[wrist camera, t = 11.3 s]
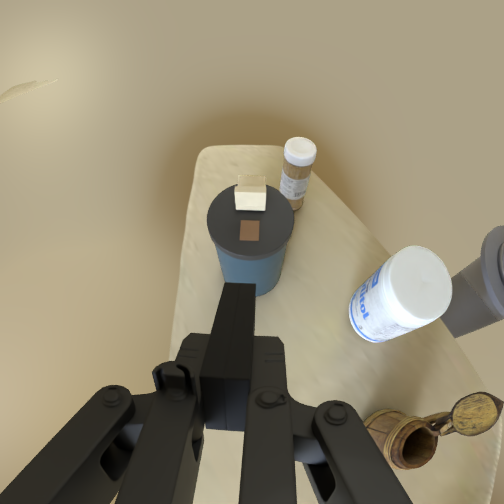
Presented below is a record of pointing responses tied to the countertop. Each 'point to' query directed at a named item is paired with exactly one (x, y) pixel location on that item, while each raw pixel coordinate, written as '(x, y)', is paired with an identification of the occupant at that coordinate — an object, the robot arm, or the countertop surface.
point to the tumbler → (251, 238)
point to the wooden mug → (429, 429)
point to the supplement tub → (401, 295)
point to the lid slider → (250, 193)
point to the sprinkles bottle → (297, 169)
